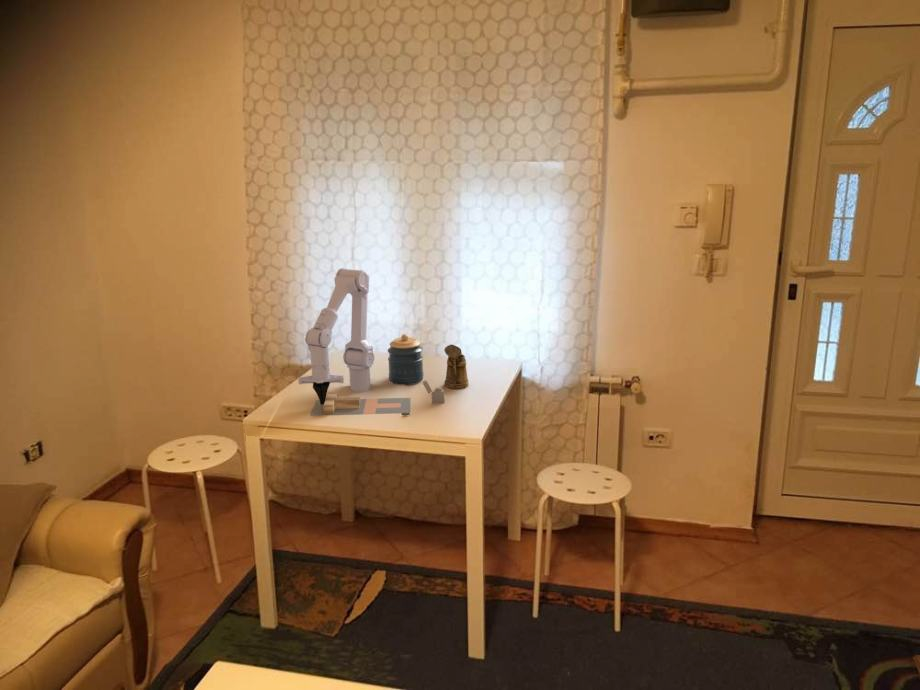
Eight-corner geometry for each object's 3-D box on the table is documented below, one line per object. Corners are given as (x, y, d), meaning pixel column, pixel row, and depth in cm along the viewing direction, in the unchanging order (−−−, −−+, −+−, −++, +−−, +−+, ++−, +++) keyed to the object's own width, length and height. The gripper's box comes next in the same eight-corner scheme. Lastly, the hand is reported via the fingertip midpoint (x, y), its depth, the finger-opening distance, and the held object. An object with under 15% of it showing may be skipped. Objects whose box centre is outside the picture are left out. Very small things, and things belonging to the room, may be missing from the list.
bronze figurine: (439, 393, 244) (438, 344, 239) (447, 380, 257) (446, 333, 252) (464, 394, 243) (463, 345, 238) (470, 381, 255) (470, 334, 250)
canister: (409, 387, 250) (407, 340, 245) (381, 381, 257) (379, 335, 252) (430, 377, 260) (429, 332, 255) (403, 372, 267) (401, 328, 262)
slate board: (316, 403, 236) (316, 400, 236) (410, 400, 238) (410, 397, 237) (310, 418, 223) (309, 415, 223) (409, 415, 224) (409, 412, 224)
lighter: (444, 401, 236) (443, 379, 234) (444, 403, 235) (443, 381, 232) (423, 402, 236) (422, 380, 233) (423, 404, 234) (422, 381, 232)
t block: (329, 401, 235) (328, 392, 234) (361, 400, 236) (361, 391, 235) (324, 414, 224) (323, 405, 223) (358, 413, 224) (357, 404, 223)
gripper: (295, 368, 221) (298, 408, 225) (341, 367, 222) (343, 407, 226) (299, 362, 228) (302, 400, 232) (343, 361, 228) (346, 399, 232)
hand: (323, 403), depth 229 cm, fingers closed
